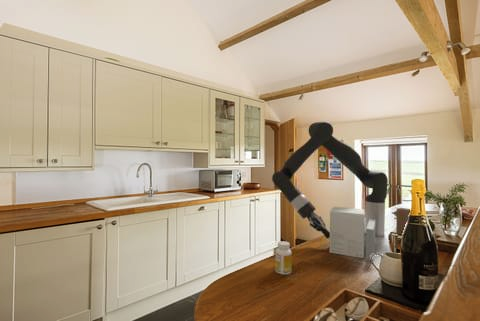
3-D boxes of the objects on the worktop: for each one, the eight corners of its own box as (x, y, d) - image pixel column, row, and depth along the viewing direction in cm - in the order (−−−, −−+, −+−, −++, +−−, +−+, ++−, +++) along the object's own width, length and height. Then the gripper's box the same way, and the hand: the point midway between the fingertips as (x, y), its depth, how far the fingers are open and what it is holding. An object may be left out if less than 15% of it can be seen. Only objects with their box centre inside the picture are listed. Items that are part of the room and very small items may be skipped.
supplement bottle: (292, 269, 88) (292, 241, 88) (290, 276, 83) (290, 246, 83) (276, 267, 90) (277, 239, 90) (273, 273, 85) (274, 244, 85)
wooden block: (423, 253, 108) (424, 210, 108) (419, 255, 105) (420, 211, 105) (399, 247, 114) (400, 207, 114) (395, 249, 112) (396, 208, 112)
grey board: (369, 244, 118) (369, 218, 118) (375, 245, 117) (375, 219, 117) (365, 259, 99) (366, 228, 99) (372, 260, 98) (373, 229, 98)
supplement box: (364, 248, 112) (364, 208, 112) (364, 258, 100) (365, 214, 100) (332, 243, 117) (332, 206, 117) (328, 252, 106) (329, 210, 106)
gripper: (304, 202, 111) (333, 235, 105) (312, 199, 123) (338, 228, 117) (292, 213, 114) (319, 245, 108) (301, 208, 125) (326, 238, 119)
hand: (329, 236), depth 112 cm, fingers closed
